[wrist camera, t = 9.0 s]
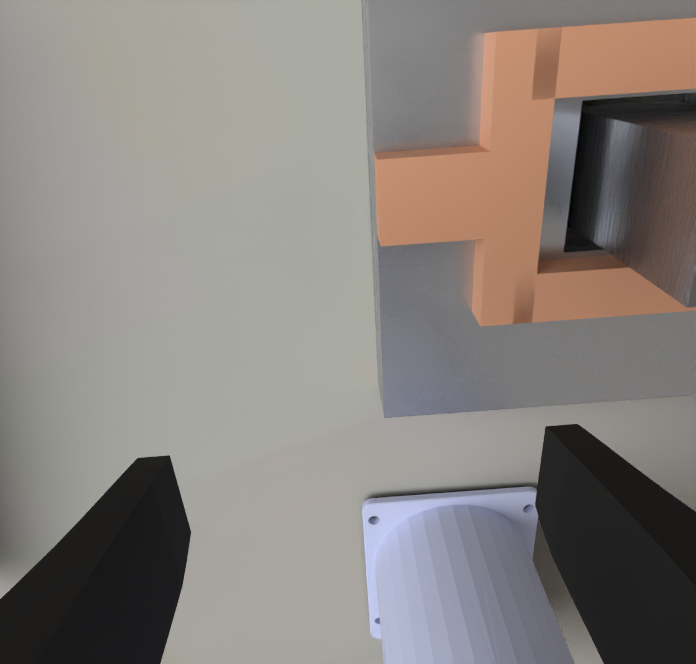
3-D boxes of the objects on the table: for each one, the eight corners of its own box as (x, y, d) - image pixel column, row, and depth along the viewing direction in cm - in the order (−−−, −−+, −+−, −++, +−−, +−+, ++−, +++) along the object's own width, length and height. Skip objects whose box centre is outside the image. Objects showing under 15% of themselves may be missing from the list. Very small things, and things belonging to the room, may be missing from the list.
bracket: (744, 291, 18) (769, 305, 17) (380, 317, 18) (383, 333, 17) (827, 8, 14) (865, 5, 13) (369, 41, 14) (373, 40, 13)
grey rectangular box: (647, 204, 19) (841, 295, 12) (551, 212, 19) (687, 307, 12) (667, 99, 17) (904, 131, 10) (562, 107, 17) (725, 145, 10)
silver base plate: (724, 355, 22) (769, 389, 20) (378, 380, 22) (384, 417, 20) (875, -162, 15) (974, -200, 12) (355, -127, 15) (362, -159, 12)
